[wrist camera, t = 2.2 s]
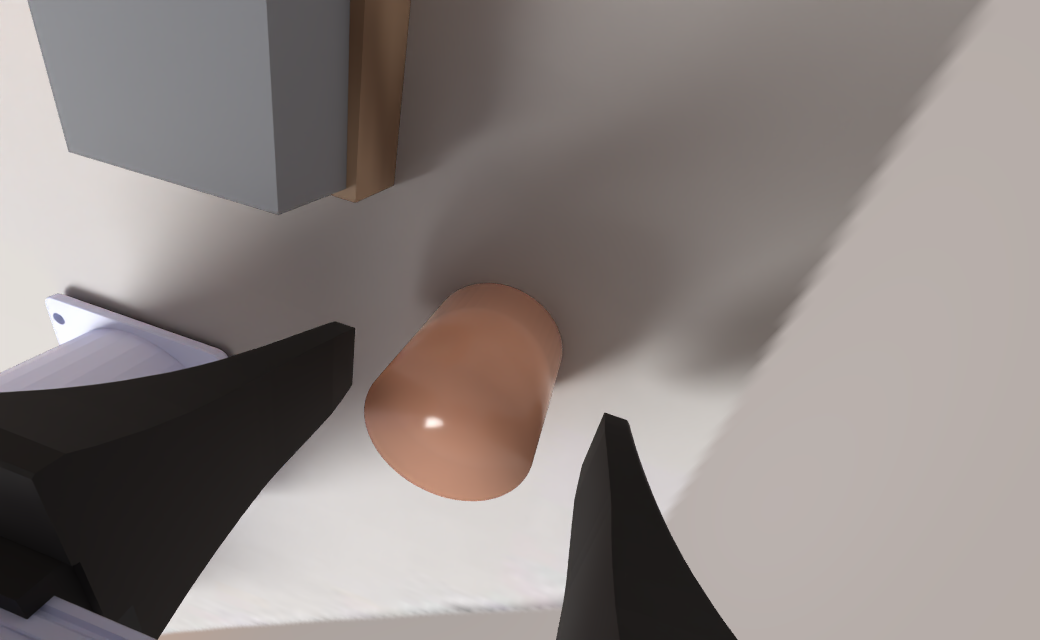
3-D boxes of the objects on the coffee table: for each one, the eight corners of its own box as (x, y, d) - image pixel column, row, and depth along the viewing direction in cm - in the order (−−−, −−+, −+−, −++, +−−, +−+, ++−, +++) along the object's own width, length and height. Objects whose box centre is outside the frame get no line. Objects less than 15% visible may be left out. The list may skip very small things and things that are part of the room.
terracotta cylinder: (543, 415, 16) (512, 522, 12) (426, 375, 17) (360, 467, 13) (579, 308, 14) (555, 397, 10) (443, 265, 14) (369, 335, 11)
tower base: (399, 182, 14) (355, 202, 12) (221, 128, 14) (147, 137, 12) (424, -70, 11) (370, -105, 9) (197, -127, 11) (93, -174, 9)
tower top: (346, 188, 12) (278, 215, 9) (170, 137, 12) (68, 151, 10) (351, -62, 9) (261, -104, 7) (129, -114, 10) (-19, -167, 7)
